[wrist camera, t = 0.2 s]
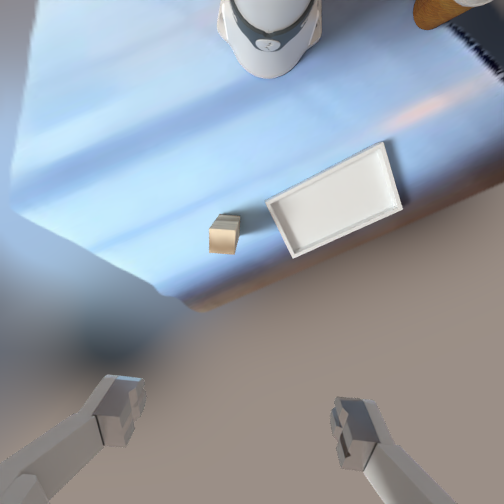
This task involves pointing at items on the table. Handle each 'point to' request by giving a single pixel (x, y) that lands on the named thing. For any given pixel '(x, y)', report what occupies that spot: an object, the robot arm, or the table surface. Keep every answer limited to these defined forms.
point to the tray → (336, 201)
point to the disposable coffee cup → (441, 11)
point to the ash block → (224, 234)
